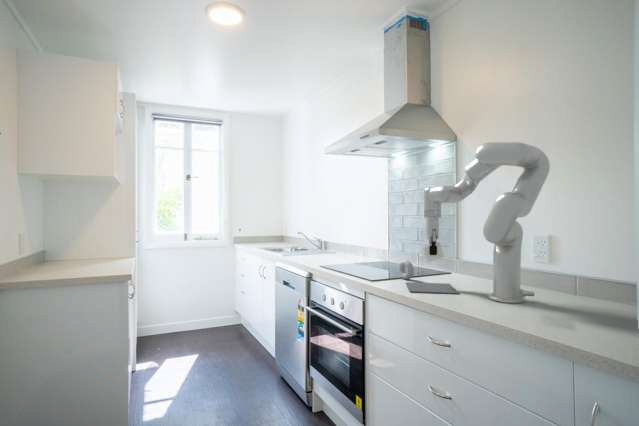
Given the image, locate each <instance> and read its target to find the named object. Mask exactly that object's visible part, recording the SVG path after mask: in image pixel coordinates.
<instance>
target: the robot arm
mask: <svg viewBox="0 0 639 426" xmlns="http://www.w3.org/2000/svg"><path fill="white" fill-rule="evenodd" d="M550 165H551V164H550V160H549V158H548V156H547V154H546V153H545V152H544V151H543V150H542V149H540V148H538V147H536V146H534V145H531V144H528V143H523V142H517V141H516V142H515V141H513V142H512V141H510V142H484V143H482V144H481V145H479V146H478V147H477V149H476V151H475V159H473V160H472V161H471V162H470V163H469V164H467V165H466V166H465V167H464V172H465V176H464V178H463V179H462V180H461V181H459V182H458V183H456V184H455V185H454V186H453V185H452V186H451V185H441V186H436V187H432V186H431V187H426V188H424V190H423V218H425V239H427V240H428V245H430V246H429V250H430V255H437V243H438V242H437V240H439V236H440V228H439V227H440V223H439V221H440V220H439V219H440V218H442V203H443V204H457V203H461V202H462V201H464V199H466V198H467V197H469V196H470V195H471V194H473V193H474V192H475V190H476V189H477V187H478V186H479V184H480V183H481V181H483V180H484V179H485V178H487V177H488V176H489V175H491V174H492V173H493V172H495V171H496V170H497V169H499V168H500V167H501V166H507V167H508V166H510V167H517V168H523V171H522V173H521V174H520V176H519V177H518V179H517V180H516V183H515V185H514V187H513V189H512V191H508V192H504V193H502V194H500V195H499V196H498V197H497V198H496V200H495V201H494V203H493V205H492V207H491V209H490V212H489V214H488V216H487V218H486V220H485V222H484V225H483V229H482V230H483V231H482V233H483V237H484V239H485V240H486V241H487V242H488V243H491V244H493V245H494V247H493V253H492V254H493V259H492V271H493V272H492V293H490V294H488V298H489V299H490V300H492V301H495V302H501V303H505V304H522V303H525V302H526V297H535V292H534V291H533V290H531V291H530V290H524V289H522V288H521V260H522V259H521V258H522V257H521V254H522V253H521V252H522V244H523V237H524V231H523V230H524V229H523V227H522V225H521V223H519V221H517V219H518V218H524V217H526V216H528V215H529V214H530V213H531V211H532V209H533V207H534V205H535V203H536V200H537V199H538V197H539V195H540V192H541V190H542V188H543V186H544V184H545V182H546V180H547V179H548V176H549V173H550V170H551V169H550Z"/></svg>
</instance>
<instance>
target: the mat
mask: <svg viewBox="0 0 639 426" xmlns="http://www.w3.org/2000/svg"><path fill="white" fill-rule="evenodd" d="M405 285H406V287H407V290H408V291H409V293H412V294H414V293H415V294H437V295H438V294H439V295H440V294H443V295H448V294H449V295H460V292H459V291H458V290H457V289H456V288H455V287H454V286H453V285H451V283H446V282H445V283H441V282H436V283H435V282H411V281H409V282H406V281H405Z"/></svg>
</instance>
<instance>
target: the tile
mask: <svg viewBox="0 0 639 426" xmlns="http://www.w3.org/2000/svg"><path fill="white" fill-rule="evenodd" d="M429 246H430V245H429V244H428V245H425V246H422V247H421V248H422V249H421V250H422V252H423V255H424V257H425V260H426V263H429V262H433V261H436V260H440V259H443V258H445V255H444V251H443V249H442V246H441V242H437V255H430V250H429Z"/></svg>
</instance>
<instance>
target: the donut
mask: <svg viewBox="0 0 639 426" xmlns="http://www.w3.org/2000/svg"><path fill="white" fill-rule="evenodd" d="M414 268H415V267H414V266H413V263H412V262H411V261H410V260H408V259H402V260H401V261H400V262H399V264H398V267H397V269H398V274H399V275H400V277H401V278H402V279H404V280H410V279H412V278H413V276H414V270H415V269H414Z"/></svg>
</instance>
